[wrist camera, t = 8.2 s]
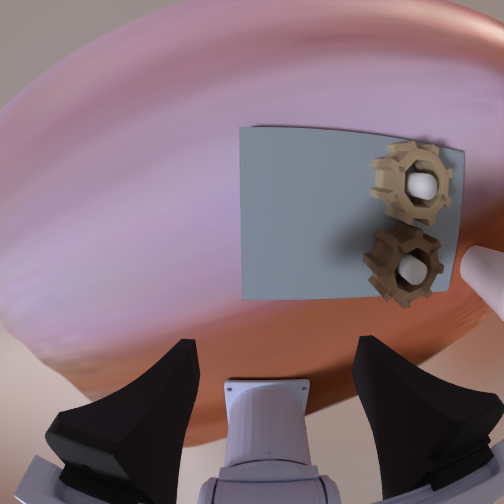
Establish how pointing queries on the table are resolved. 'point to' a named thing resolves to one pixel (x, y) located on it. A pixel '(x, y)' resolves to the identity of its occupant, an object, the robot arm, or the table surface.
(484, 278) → the smoothie
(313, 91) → the table surface
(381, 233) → the walnut gear
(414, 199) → the beech gear
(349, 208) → the gear board
